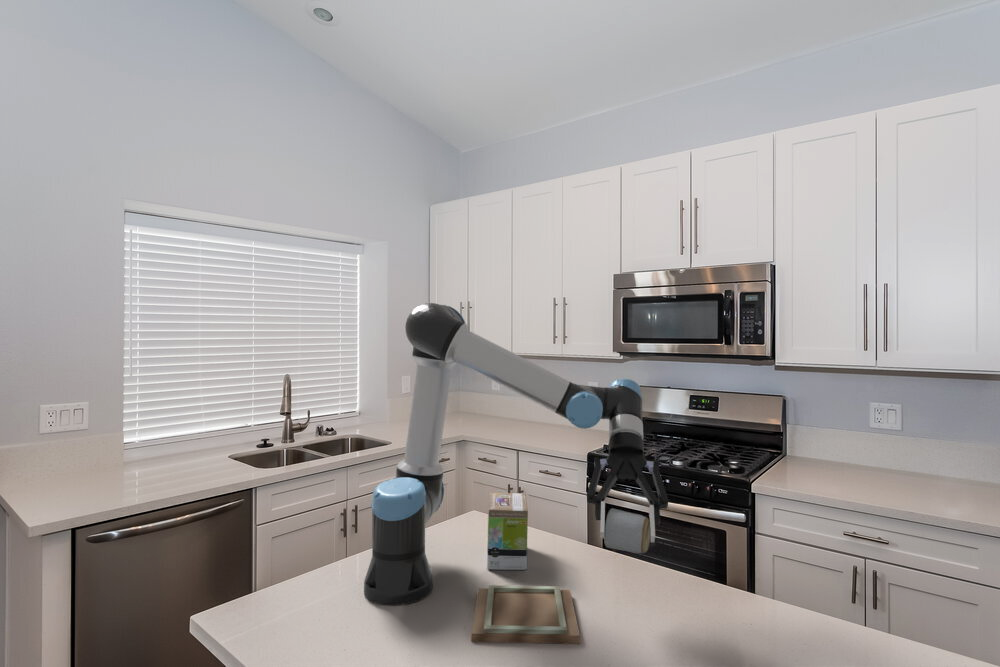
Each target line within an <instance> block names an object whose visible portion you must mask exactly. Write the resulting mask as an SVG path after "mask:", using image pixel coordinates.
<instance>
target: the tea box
mask: <svg viewBox="0 0 1000 667" xmlns="http://www.w3.org/2000/svg"><path fill="white" fill-rule="evenodd" d="M487 513H488V514H487V549H486V550H487V551H486V552H487V556H486V558H487V559H486V560H487V562H486V563H487V564H486V566H487V567H486V569H487V570H493V571H494V570H496V571H497V570H499V571H526V570H527V568H528V567H527V566H528V565H527V564H528V533H529V532H528V530H529V529H528V518H529V517H528V516H529V514H528V513H529V512H528V501H527V494H526V493H513V492H512V493H511V492H510V493H508V492H490V493H489V504H488V512H487Z"/></svg>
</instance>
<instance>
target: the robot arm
mask: <svg viewBox="0 0 1000 667" xmlns="http://www.w3.org/2000/svg"><path fill="white" fill-rule="evenodd" d="M404 327H405V334H406V337H407V340H408V341H409V343H410V345H412V348H413V349H412V353H411V354H412V355H411V357H412V358H413V359H414V361H415V362H416V372H415V377H414V378H415V379H414V384H413V385H414V386H413V391H412V392H413V393H412V399H411V407H410V414H409V421H408V422H409V423H408V429H407V437H406V444H405V452H404V458H403V459H402V460H401V461H399V462H398V463H397V464H396V471H395V477H394V478H391V479H389V480H385V481H382V482H380V483H379V484H378V485H377V486H376V487H375V489H374V490H373V494H372V500H371V510H372V511H371V517H372V518H371V520H372V521H371V522H372V523H371V532H372V533H371V537H372V538H371V541H372V542H371V544H372V547H371V549H372V550H371V554H372V556H371V559H370V563H369V566H368V569H367V572H366V576H365V578H364V580H363V581H364V583H363V594H364V597H366V599H367V600H369V601H370V602H372V603H374V604H377V605H378V604H379V605H384V606H385V605H386V606H400V605H401V606H402V605H407V604H411V603H415V602H418V601H420V600H423V599H424V598H425V597H427V596H428V595H430V593H431V592H432V591H433V588H434V587H433V586H434V577H433V573H432V570H431V567H430V564H429V560H428V557H427V554H426V524H427V523H428V522H429V520H430V519H431V517H432V516H433V515H434V514H435V513H437V511H438V509H439V508H440V507H441V505H442V503H443V500H444V495H445V486H444V485H445V484H444V482H443V478H444V467H443V466H442V464H440V455H441V447H442V440H443V434H444V427H445V419H446V413H447V412H446V411H447V404H448V398H449V389H450V383H451V382H450V381H451V377H452V376H451V375H452V369H453V367H455V366H456V365H457V364H459V365H461V366H463V367H465V369H466V368H467V369H469V370H470V371H473V372H474V373H477V374H479V375H480V376H483V377H484V378H486V379H489V380H490V381H492V382H494V383H496V384H498V385H500V386H502V387H504V388H505V389H508V390H510V391H512V392H514V393H515V394H518V395H520V396H522V397H524V398H526V399H528V400H529V401H532V402H533V403H536V404H538V405H540V406H541V407H544V408H546V409H547V410H549V411H551V412H554V413H555V414H557V415H559V416H560V417H562V418H564V419H566V420H568V421H569V422H570V423H571V424H572V425H573V426H575V427H577V428H579V429H584V430H585V429H590V428H593V427H595V426H596V425H598V423H599V422H600V421H601V420H608V421H609V422H608V438H609V440H608V456H607V457H606V458H600V457H599V456H595V457H594V458H593V459H594V460H593V461H594V463H593V464H594V468H593V473H592V474H591V475H592V476H591V478H590V482H589V486H588V490H587V493H586V502H587V503H588V504H593V505H594V506H595V507H594V519H595V521H600V526H599V527H600V531H599V533H600V539H604V532H605V523H606V520H605V519H606V518H605V517H606V501H605V500H606V498H607V497H608V495H609V493H610V491H611V489H612V488H613V486H614V484H615V483H616V482H617V481H618V479H620V480H625V479H628V480H633V481H634V480H635V482H636V483H637V485H638V486H639V488H640V490H641V491H642V493H643V495H644V496H645V498H646V500H647V502H648V503H649V508H648V509H649V510H648V516H649V518H648V519H649V520H650V542H649V543H655V539H656V526H660V523H661V511H660V510H661V509H667V508H668V506H669V502H670V501H669V498H668V494H667V491H666V488H665V484H664V481H663V478H662V475H661V472H660V460H657V459H656V460H654V461H650V460H647V459H646V457H645V449H644V448H645V446H644V445H645V444H644V424H643V423H644V422H643V398H642V391H641V390H642V389H641V387H640V385H639V384H638V383H637V382H636V381H635V380H632V379H630V378H620V379H615V380H614V381H612V383H611V384H610V385H609V387H608V386H607V387H605V386H604V387H603V386H590V385H584V384H577V383H573V382H572V381H570V380H568V379H566V378H564V377H561V376H560V375H557V374H556V373H553V372H551V371H550V370H548V369H546V368H544V367H542V366H540V365H538V364H536V363H533V362H532V361H530V360H528V359H526V358H524V357H522V356H520V355H519V354H516V353H514V352H513V351H510V350H508V349H506V348H504V347H502V346H500V345H498V344H496V343H494V342H492V341H490V340H488V339H486V338H484V337H483V336H480V335H478V334H476V333H474V332H473V331H470V330H469V327H468V324H467V323H466V321H465V319H464V317H463V315H462V314H461V313H460V312H459V311H458V310H456V309H455V308H454V307H452V306H450V305H446V304H439V303H433V302H428V303H427V302H425V303H422V304H420V305H418V306H416V307H415V308H413V310H411V312H410V313H409V314H408V315H407V318H406V321H405V326H404ZM606 466H607V467H608V468H609V469H610V472H609V474H608V475H607V477H606V480H605V481H604V483H603V484H602V486H601V487H600V489H599V491H598V493H597V495H596V491H597V488H598V486H599V485H598V484H599V481H600V477H601V472H602V471H603V470H605V467H606ZM645 469H648V471H649V473H651V474H652V479H653V483H654V486H655V489H656V493H657V496H656V494H655V492H654V491H653V489H652V487H651V485H650V484H649V482H648V481H647V478H646V477H645V475H644V472H643V471H644V470H645Z"/></svg>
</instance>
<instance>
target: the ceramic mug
mask: <svg viewBox="0 0 1000 667" xmlns="http://www.w3.org/2000/svg"><path fill="white" fill-rule="evenodd" d="M605 519H606V520H605V530H604V538H603V540H604V541H603V542H604V545H605V547H606V548H608V549H613V550H619V551H625V552H629V553H634V554H645V553H647V551H648V550H649V546H650V543H651V542H650V520H649V518H648V517H647V516H645V515H642V514H638V513H633V512H629V511H625V510H621V509H616V508H613V507H611V508H610V509H609V510H608V512H607V515H606V518H605Z"/></svg>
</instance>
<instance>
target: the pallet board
mask: <svg viewBox="0 0 1000 667" xmlns="http://www.w3.org/2000/svg"><path fill="white" fill-rule="evenodd" d="M471 628H472V629H471V639H470V640H471V642H472V643H476V642H477V643H481V642H482V643H483V642H484V643H521V644H522V643H523V644H524V643H525V644H526V643H528V644H563V645H564V644H571V645H573V644H574V645H580V640H581V639H580V638H581V637H580V631H579V627H578V622H577V616H576V611H575V608H574V603H573V598H572V593H571V589H561V587H560V586H558V585H557V586H556V585H555V586H554V585H553V586H552V585H551V586H549V585H548V586H547V585H544V586H543V585H502V584H501V585H500V584H499V585H497V584H490V585H488V587H479V588H478V589H477V596H476V602H475V608H474V615H473V621H472V627H471Z"/></svg>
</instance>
